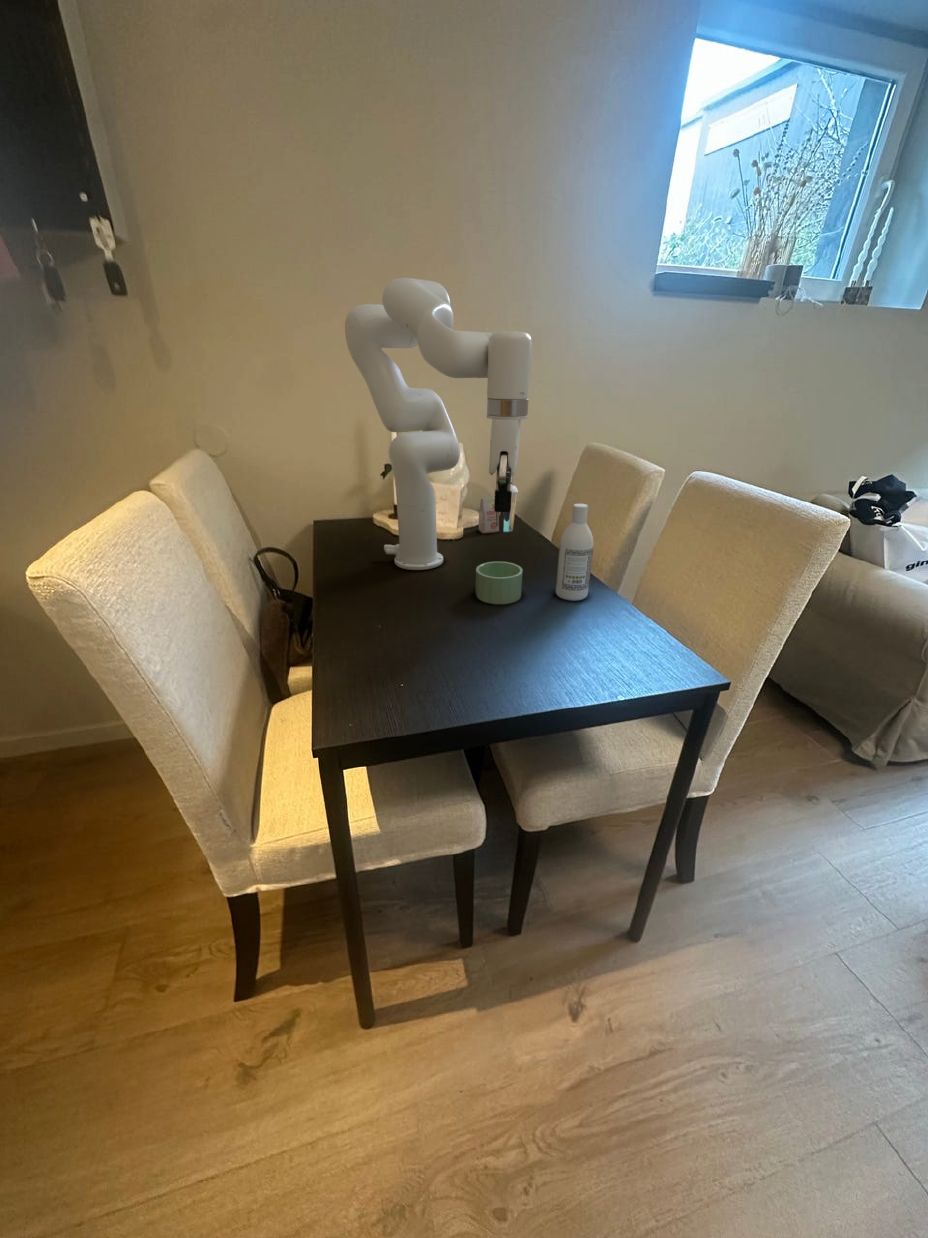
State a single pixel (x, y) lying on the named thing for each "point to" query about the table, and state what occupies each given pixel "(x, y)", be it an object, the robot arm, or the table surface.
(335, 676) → the table surface
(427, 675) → the table surface
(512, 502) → the milkshake
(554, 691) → the table surface
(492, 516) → the white and pink carton
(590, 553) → the bath foam
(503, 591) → the cup
